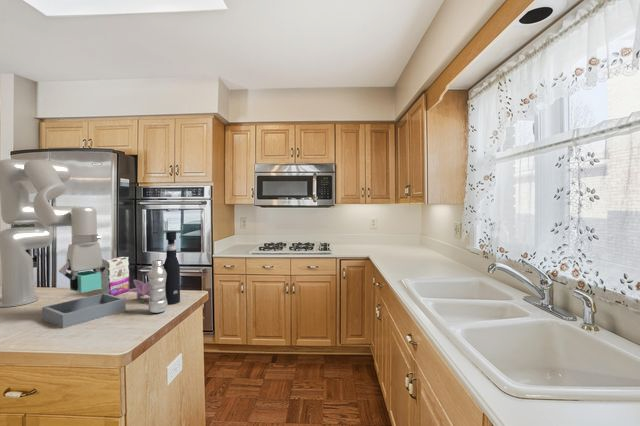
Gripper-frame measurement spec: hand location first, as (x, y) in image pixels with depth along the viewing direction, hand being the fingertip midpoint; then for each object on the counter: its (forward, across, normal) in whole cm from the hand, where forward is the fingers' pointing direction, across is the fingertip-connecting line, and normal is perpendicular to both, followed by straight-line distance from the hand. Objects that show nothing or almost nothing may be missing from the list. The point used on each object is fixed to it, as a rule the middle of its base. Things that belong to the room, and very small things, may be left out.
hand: (85, 286), depth 113 cm
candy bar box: (+11, -20, -19) cm, 30 cm away
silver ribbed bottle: (+11, -15, +21) cm, 28 cm away
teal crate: (+1, 0, 0) cm, 1 cm away
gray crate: (+11, 0, 0) cm, 11 cm away
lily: (+11, -21, +2) cm, 24 cm away
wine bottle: (+11, -25, +15) cm, 31 cm away
